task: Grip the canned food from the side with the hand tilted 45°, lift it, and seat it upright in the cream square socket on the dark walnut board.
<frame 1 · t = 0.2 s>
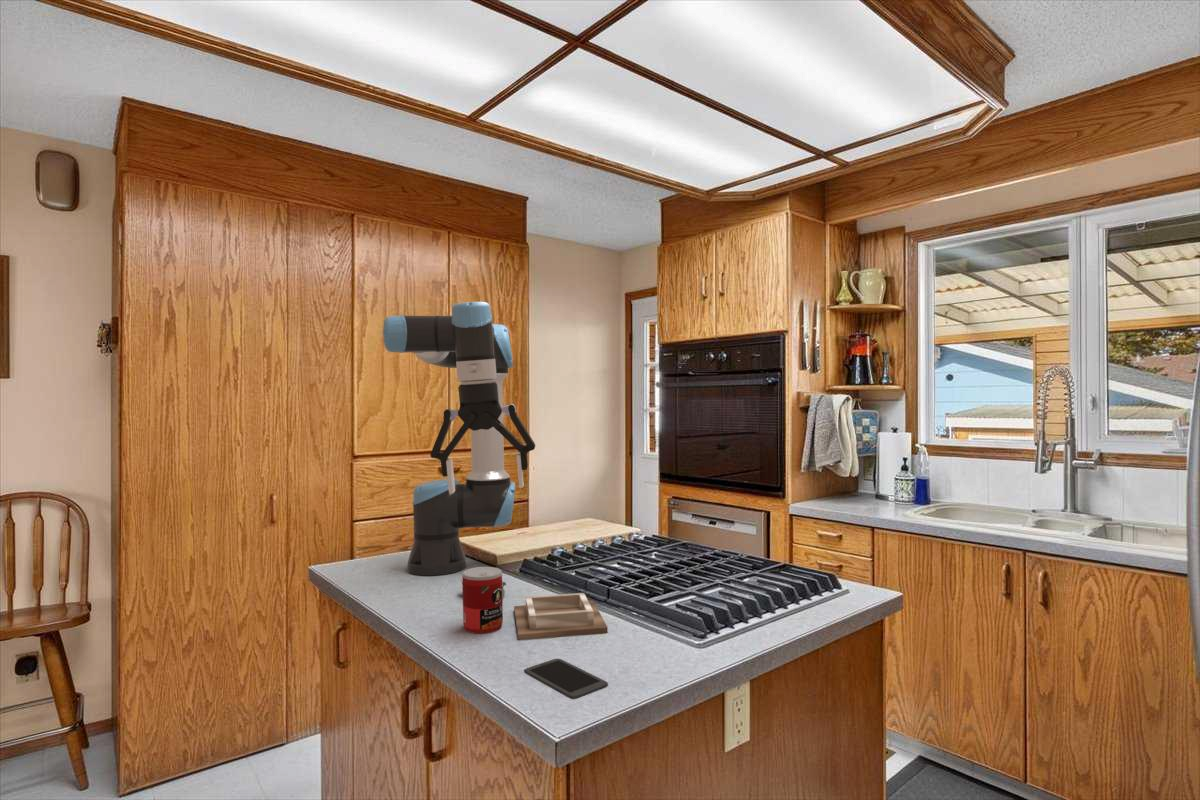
hand: (487, 489, 132), 27 cm above the counter, tool pointing down, fingers open, 13 cm apart
egg carton: (482, 598, 152), on the counter
socket board: (558, 621, 135), on the counter
cell phone: (564, 681, 108), on the counter
canned food: (483, 628, 132), on the counter
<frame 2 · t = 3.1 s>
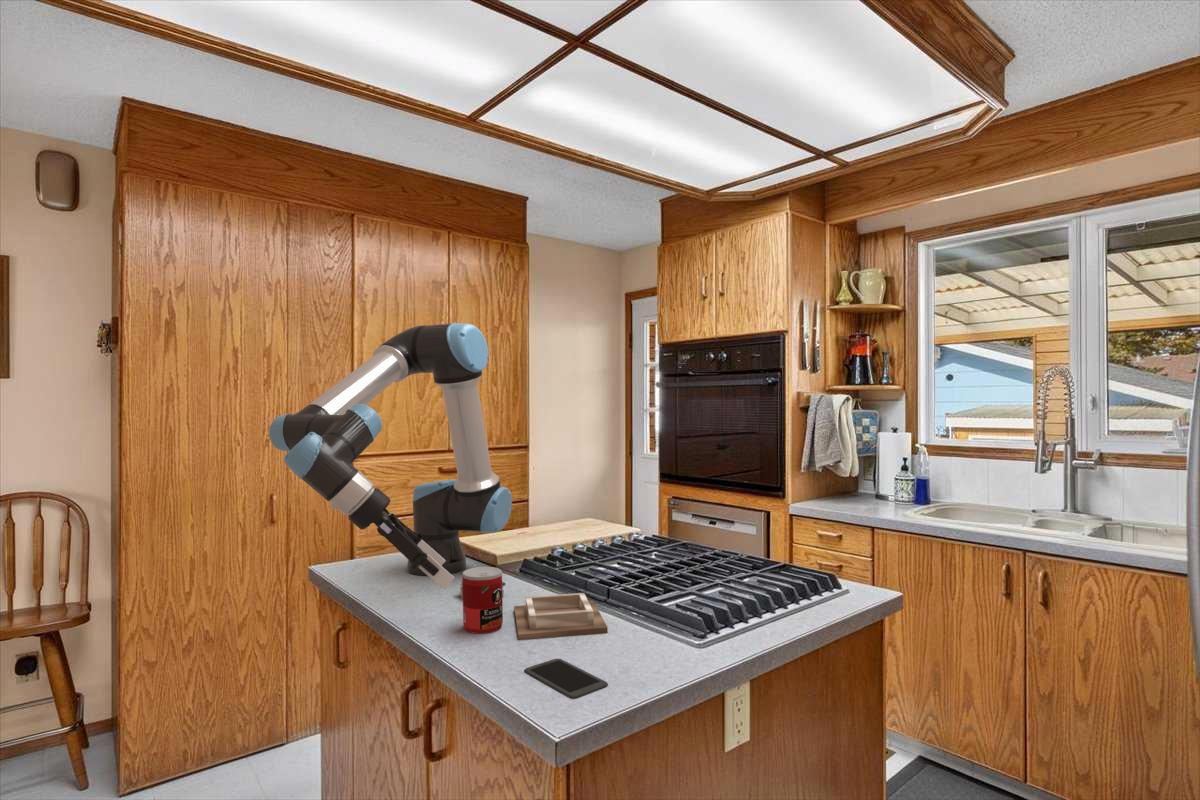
hand: (445, 574, 129), 11 cm above the counter, tool tilted 45°, fingers open, 13 cm apart
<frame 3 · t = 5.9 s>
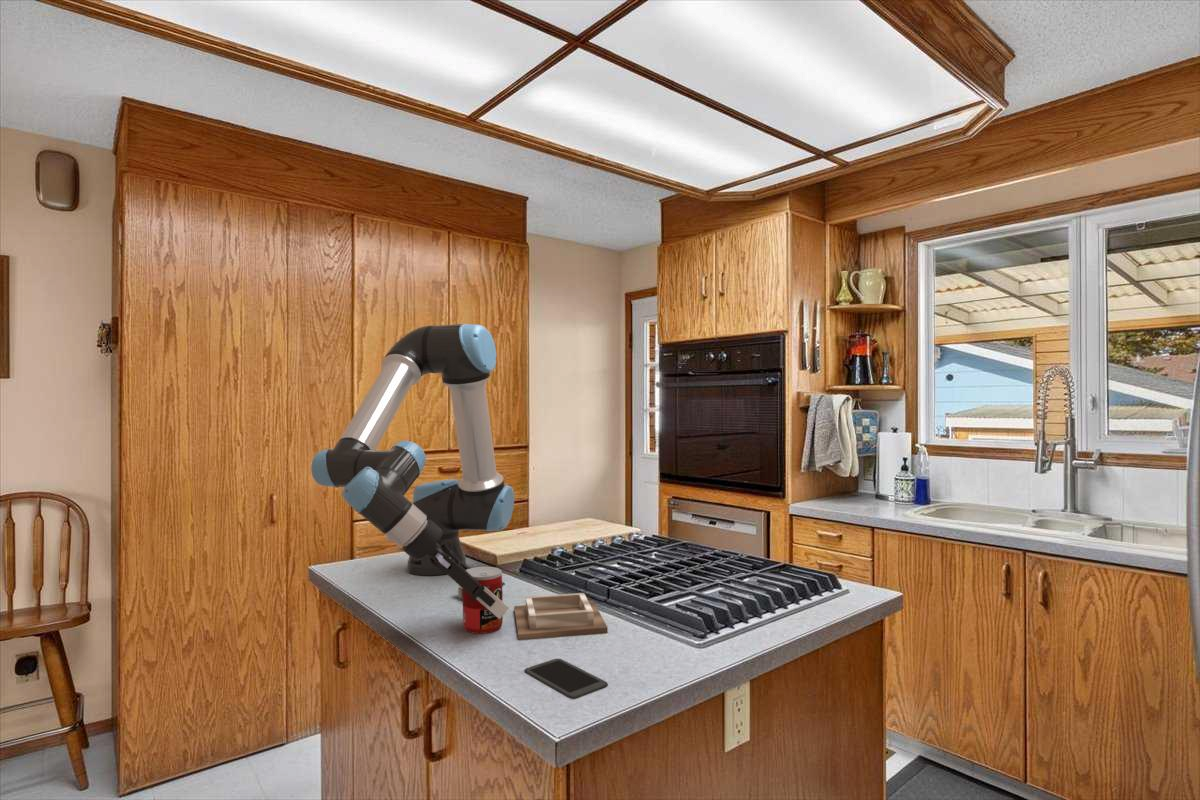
hand: (499, 606, 134), 4 cm above the counter, tool tilted 45°, fingers closed on canned food, 8 cm apart
canned food: (483, 627, 132), on the counter, touching gripper
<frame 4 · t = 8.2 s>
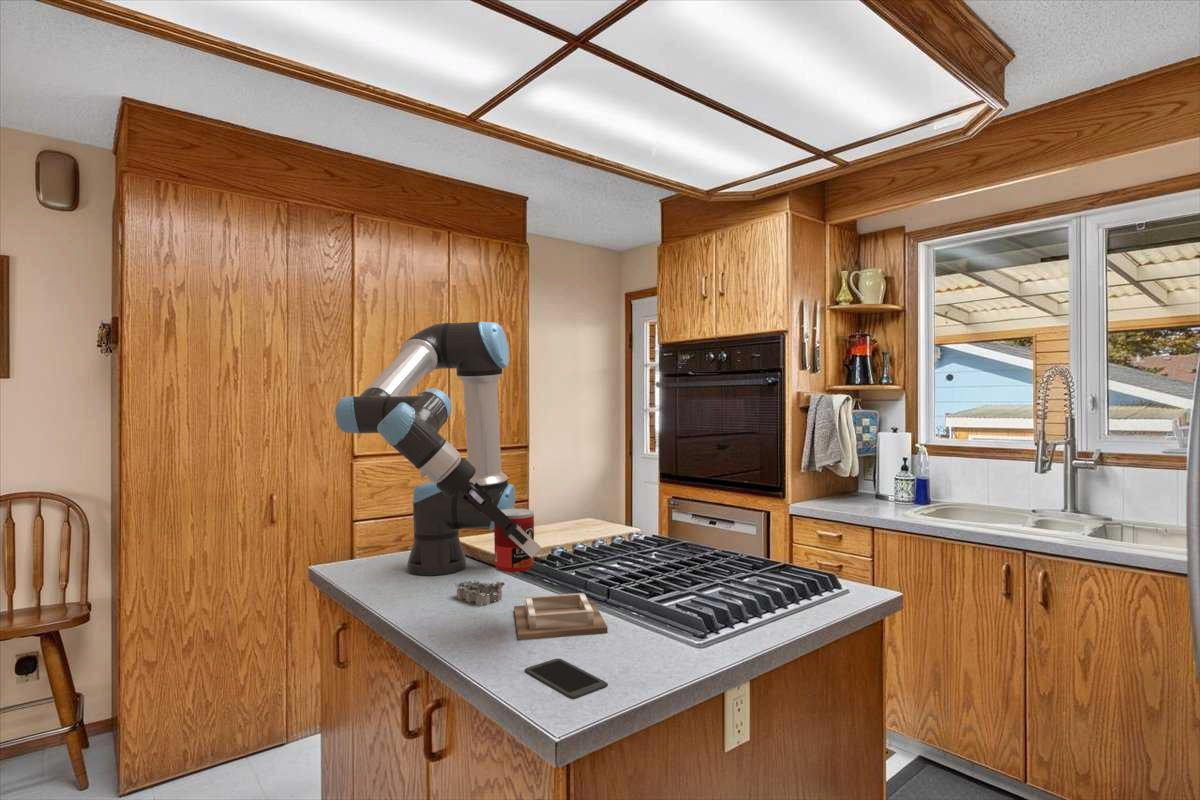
hand: (531, 547, 133), 15 cm above the counter, tool tilted 45°, fingers closed on canned food, 8 cm apart
canned food: (514, 568, 132), point 12 cm above the counter, touching gripper
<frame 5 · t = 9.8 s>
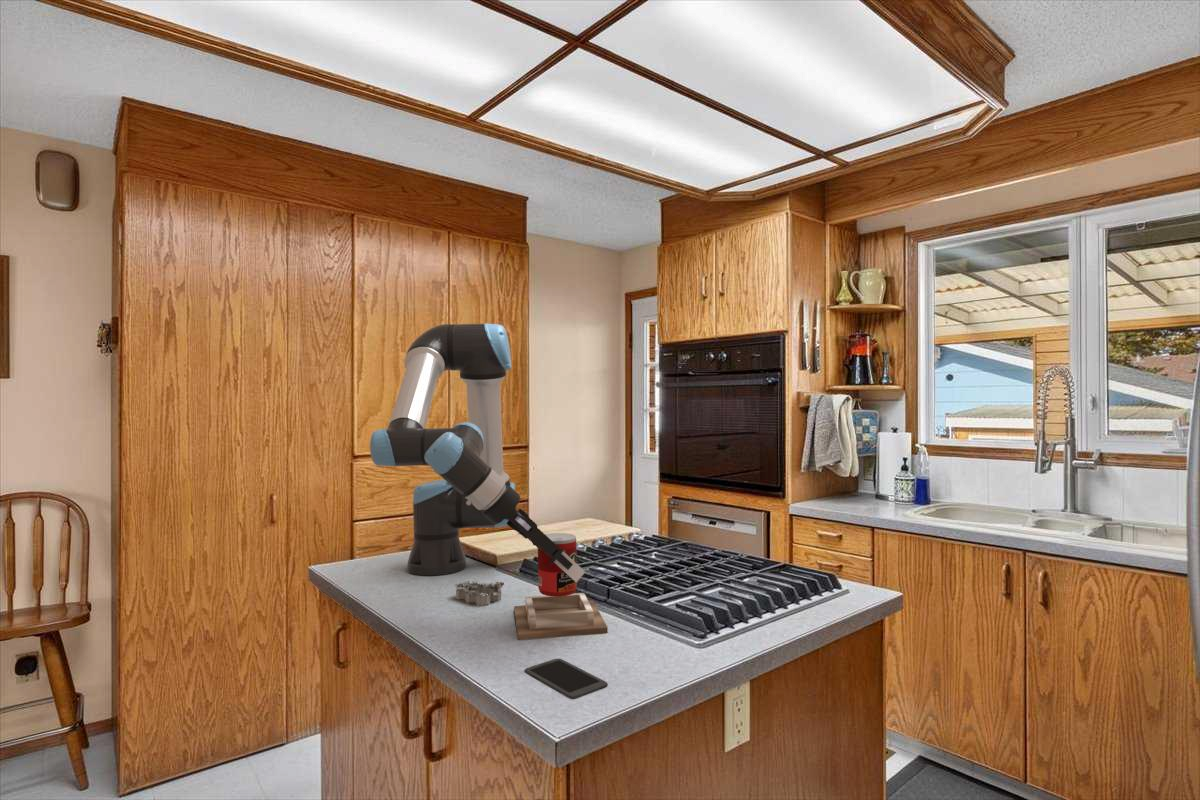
hand: (573, 571, 136), 10 cm above the counter, tool tilted 45°, fingers closed on canned food, 8 cm apart
canned food: (557, 592, 135), point 6 cm above the counter, touching gripper
when the fingers open (6 cm above the counter, at t = 10.9 s): canned food drops 1 cm, resting on socket board.
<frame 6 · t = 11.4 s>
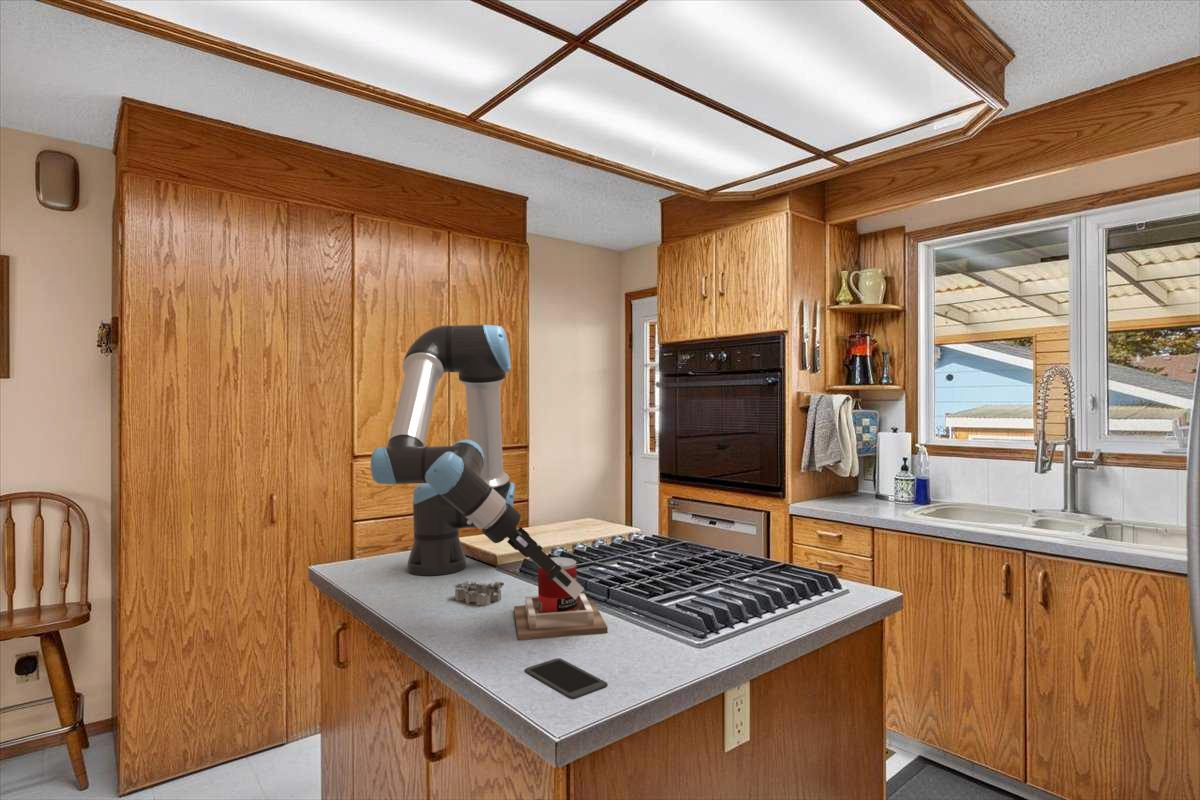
hand: (568, 584, 136), 7 cm above the counter, tool tilted 45°, fingers open, 13 cm apart
canned food: (557, 617, 135), point 1 cm above the counter, touching socket board
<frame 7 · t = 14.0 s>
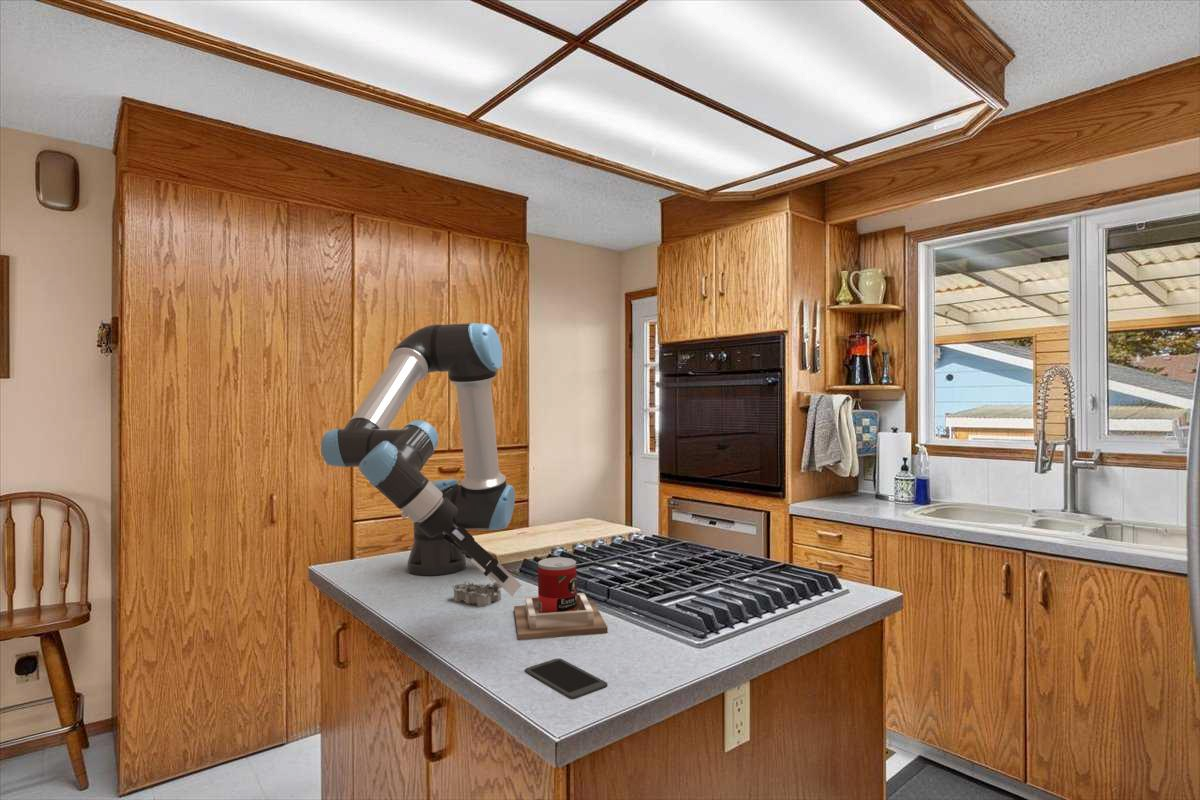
hand: (506, 583, 132), 9 cm above the counter, tool tilted 45°, fingers open, 13 cm apart
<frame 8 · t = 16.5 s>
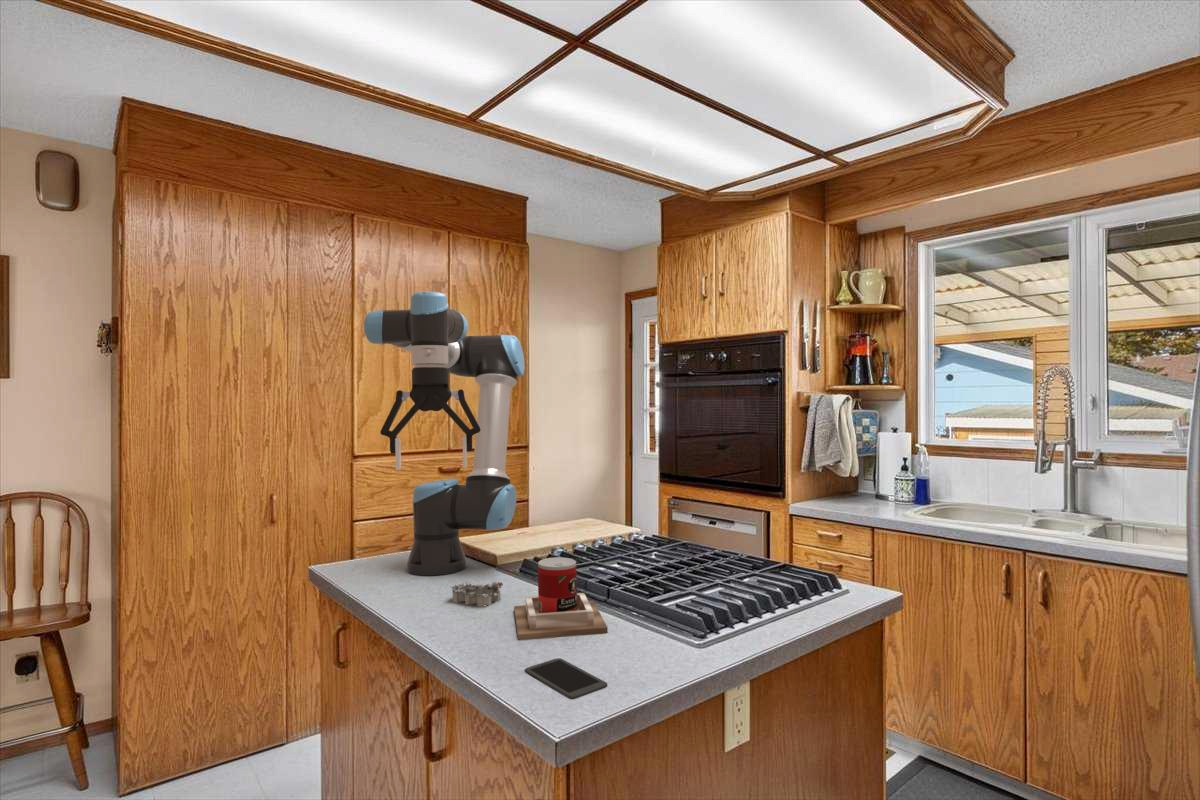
hand: (432, 468, 140), 31 cm above the counter, tool pointing down, fingers open, 13 cm apart
at the end: canned food 0.1 cm off-centre on the socket board, point 0.8 cm above the socket board's base; canned food tilted 0°; the gripper is holding nothing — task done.
